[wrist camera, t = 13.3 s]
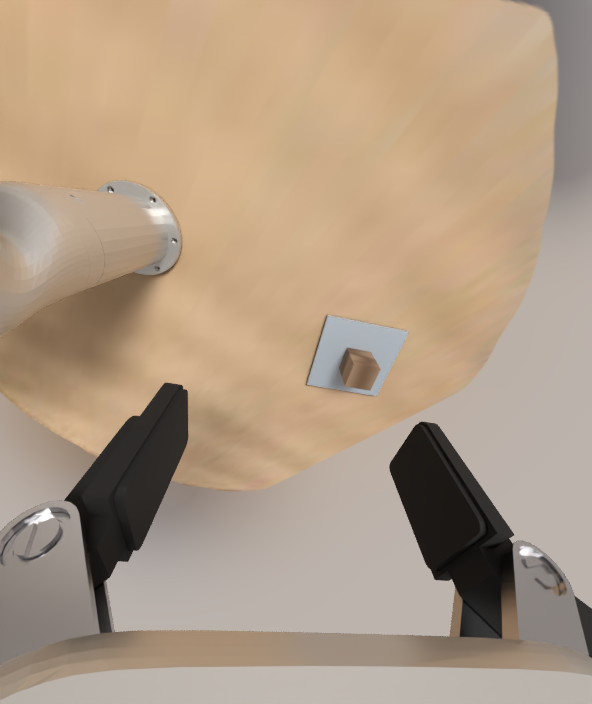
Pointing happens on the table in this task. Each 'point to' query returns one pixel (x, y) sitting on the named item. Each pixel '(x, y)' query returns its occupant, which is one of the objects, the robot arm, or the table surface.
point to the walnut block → (359, 369)
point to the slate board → (355, 336)
